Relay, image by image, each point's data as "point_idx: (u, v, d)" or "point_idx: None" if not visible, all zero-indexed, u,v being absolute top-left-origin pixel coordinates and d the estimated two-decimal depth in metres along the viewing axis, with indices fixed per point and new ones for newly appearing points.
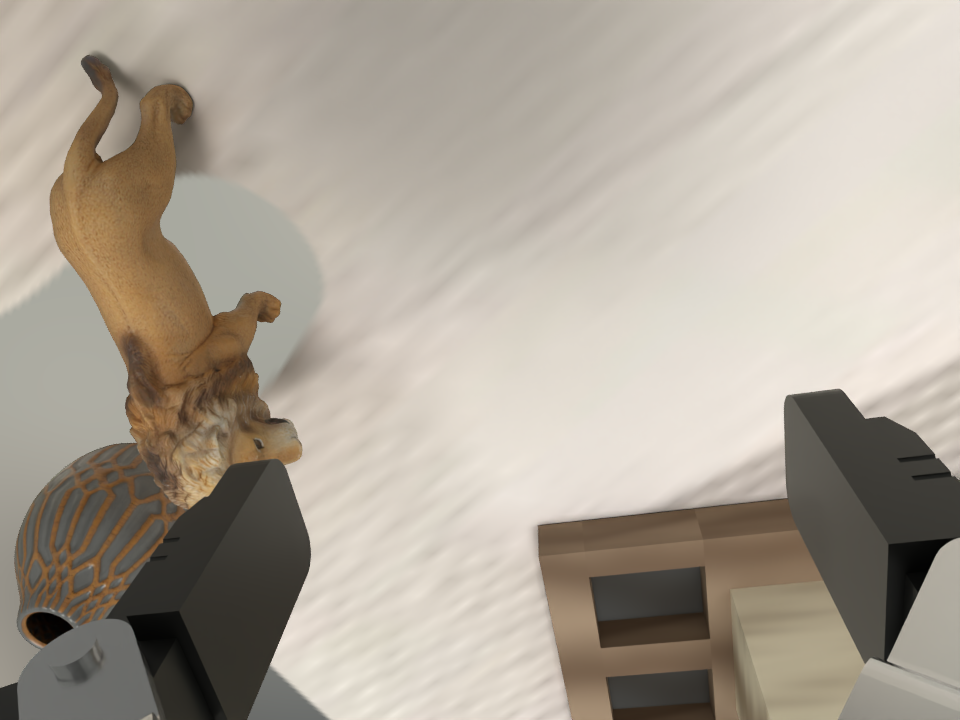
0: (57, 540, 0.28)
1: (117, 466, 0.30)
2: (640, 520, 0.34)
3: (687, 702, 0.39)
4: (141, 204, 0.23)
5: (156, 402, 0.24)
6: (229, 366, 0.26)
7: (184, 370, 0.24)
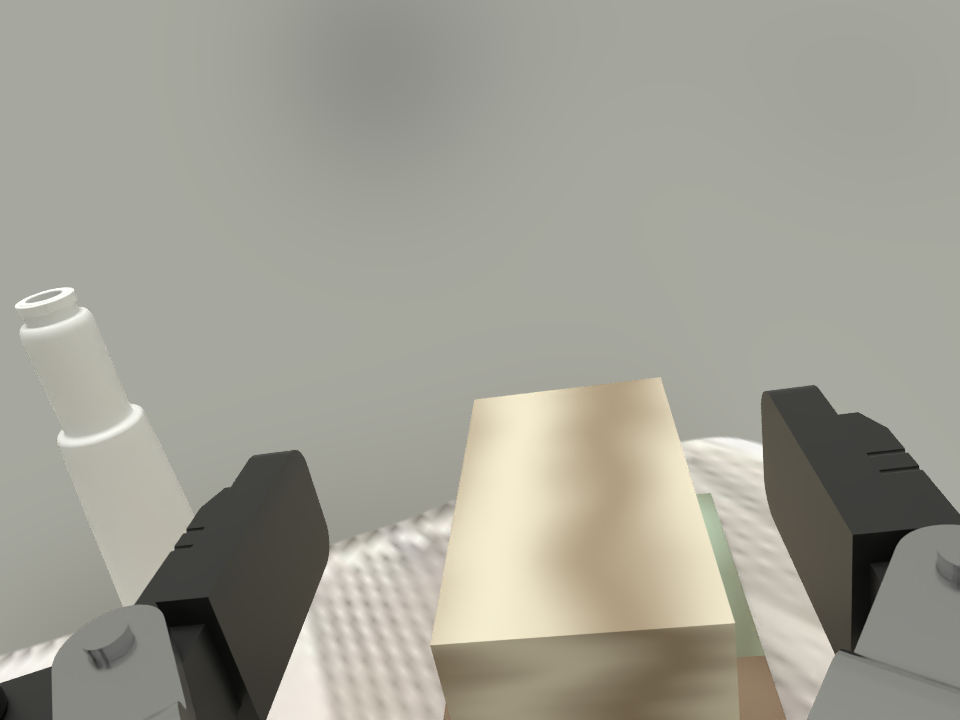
0: None
1: None
2: None
3: None
4: None
5: None
6: None
7: None
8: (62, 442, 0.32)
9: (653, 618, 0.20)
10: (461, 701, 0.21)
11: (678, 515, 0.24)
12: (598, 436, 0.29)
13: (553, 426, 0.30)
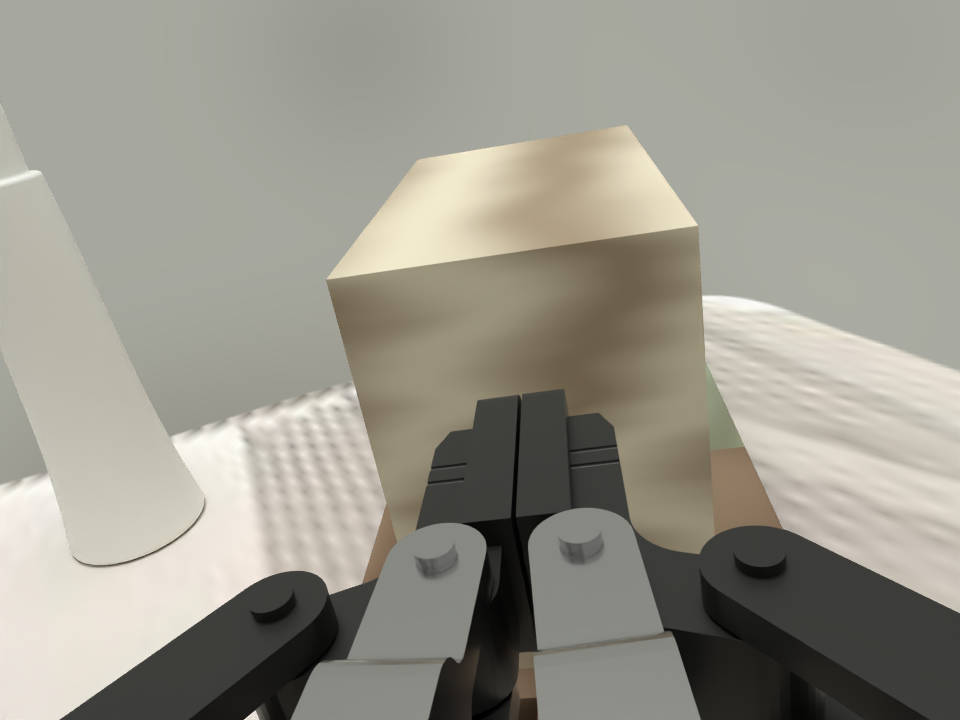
0: None
1: None
2: None
3: None
4: None
5: None
6: None
7: None
8: None
9: (599, 234, 0.16)
10: (368, 365, 0.17)
11: (636, 183, 0.20)
12: (551, 158, 0.25)
13: (502, 160, 0.26)
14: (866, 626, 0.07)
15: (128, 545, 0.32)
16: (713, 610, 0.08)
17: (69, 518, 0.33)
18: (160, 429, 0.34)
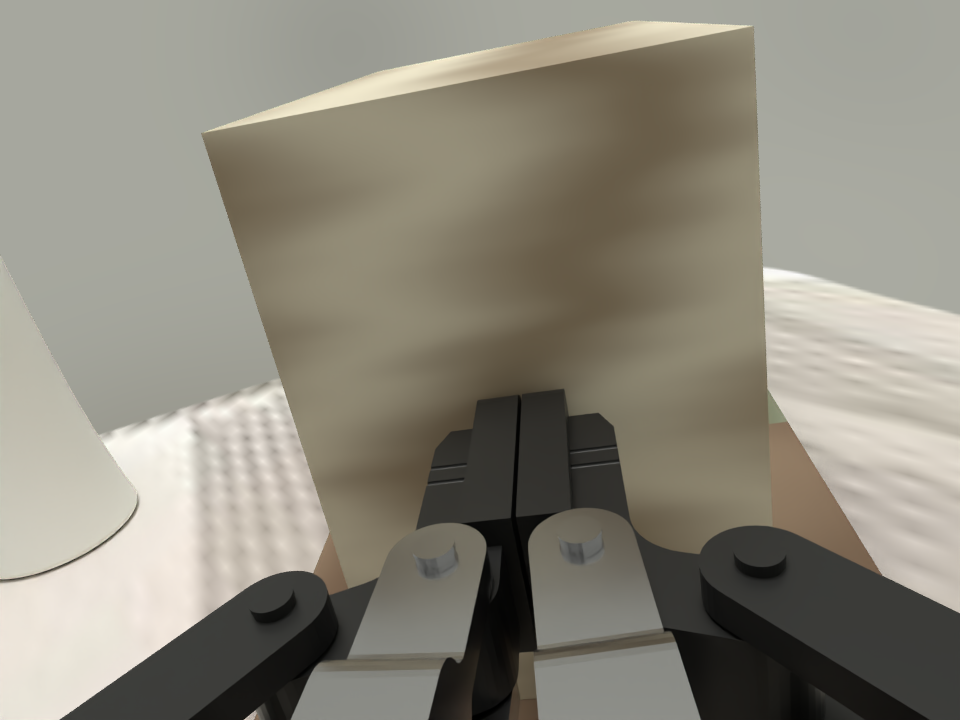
0: None
1: None
2: None
3: None
4: None
5: None
6: None
7: None
8: None
9: (603, 53, 0.11)
10: (272, 267, 0.12)
11: (652, 30, 0.14)
12: (539, 44, 0.19)
13: (478, 54, 0.21)
14: (866, 626, 0.07)
15: (35, 554, 0.27)
16: (713, 610, 0.08)
17: None
18: (78, 415, 0.28)
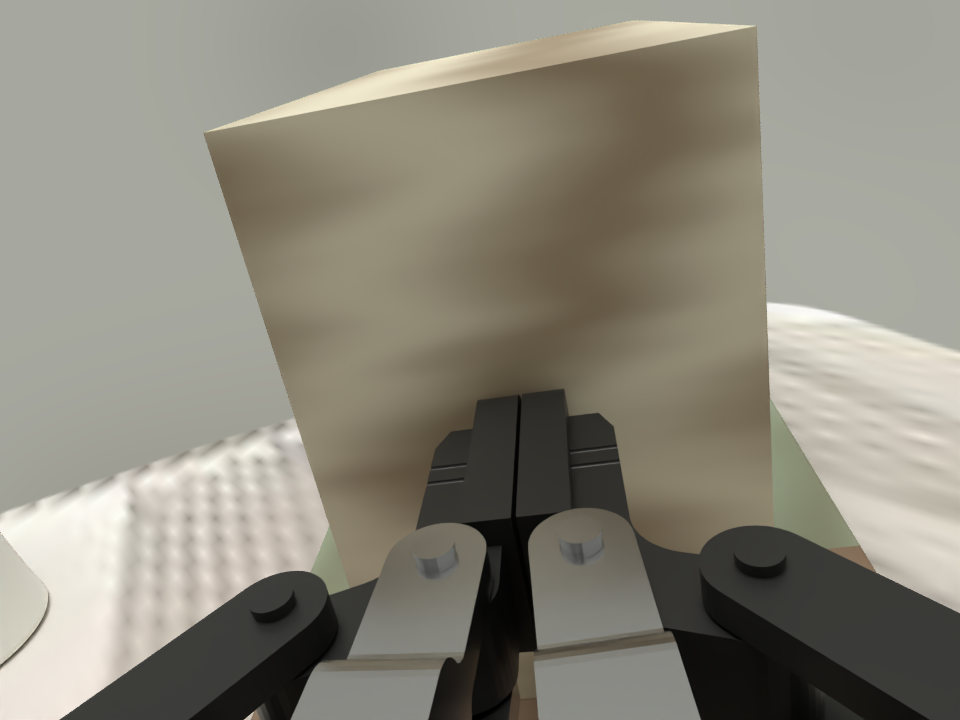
0: None
1: None
2: None
3: None
4: None
5: None
6: None
7: None
8: None
9: (606, 52, 0.11)
10: (274, 266, 0.12)
11: (654, 30, 0.14)
12: (540, 43, 0.19)
13: (480, 54, 0.21)
14: (866, 626, 0.07)
15: None
16: (713, 610, 0.08)
17: None
18: None
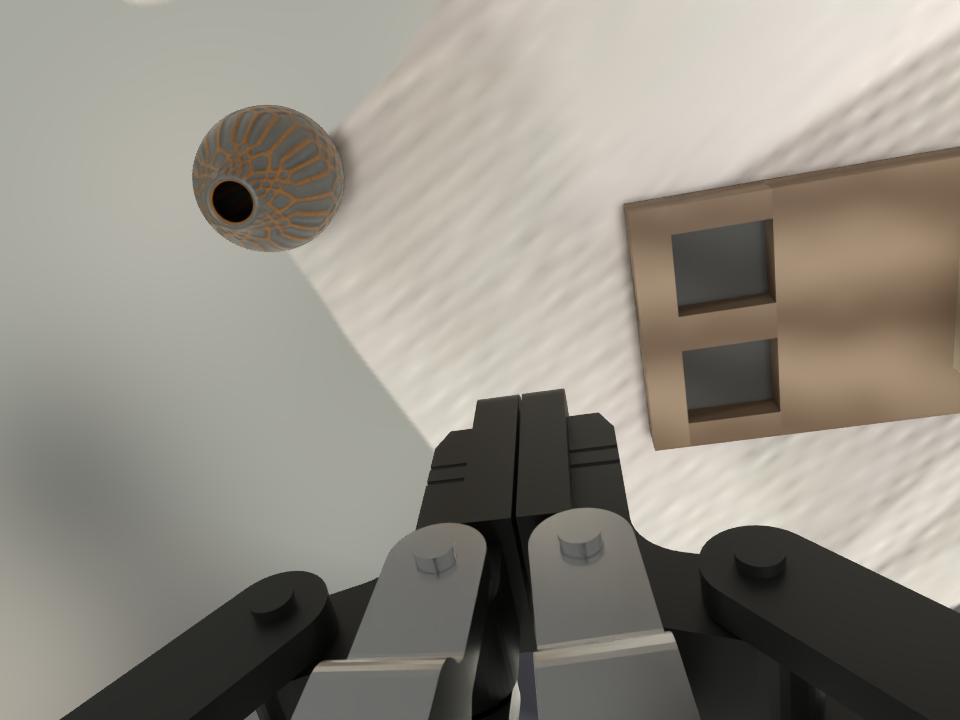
0: (237, 138, 0.33)
1: (277, 106, 0.36)
2: (714, 190, 0.39)
3: (752, 399, 0.43)
4: None
5: None
6: None
7: None
8: None
9: None
10: None
11: None
12: None
13: None
14: (866, 626, 0.07)
15: None
16: (713, 610, 0.08)
17: None
18: None
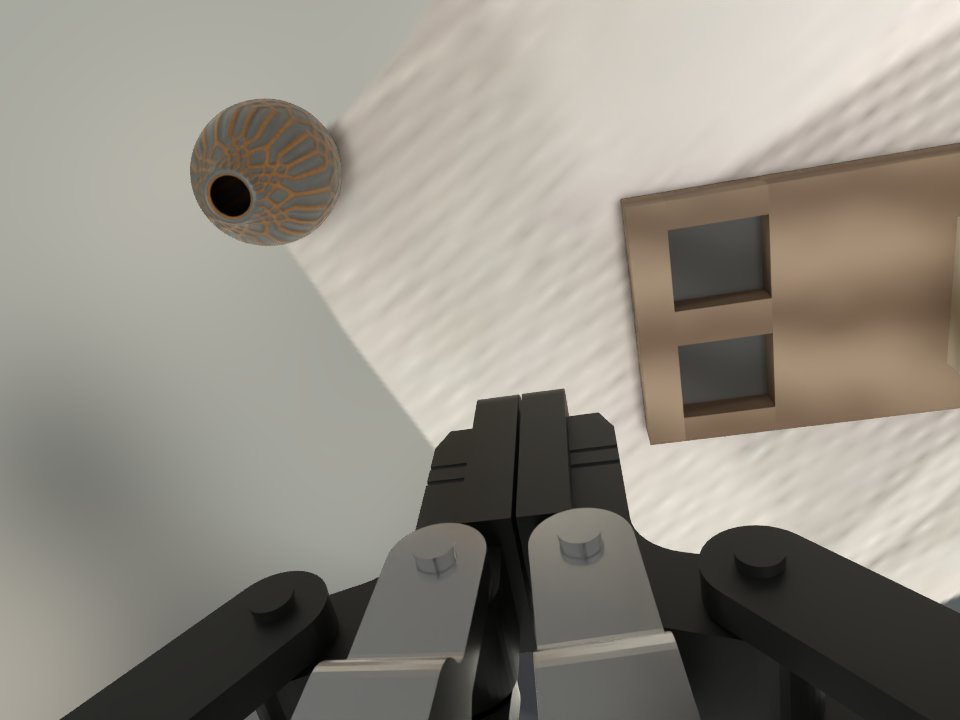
0: (234, 132, 0.33)
1: (275, 100, 0.36)
2: (711, 185, 0.39)
3: (747, 394, 0.44)
4: None
5: None
6: None
7: None
8: None
9: None
10: None
11: None
12: None
13: None
14: (866, 626, 0.07)
15: None
16: (713, 610, 0.08)
17: None
18: None
